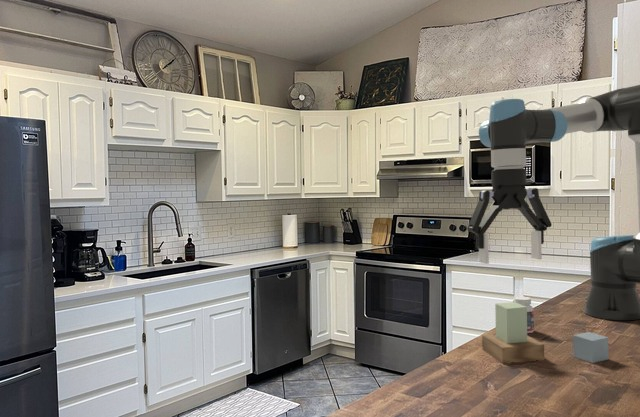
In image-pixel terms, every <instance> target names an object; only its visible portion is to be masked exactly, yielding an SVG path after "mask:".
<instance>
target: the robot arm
mask: <svg viewBox="0 0 640 417" xmlns="http://www.w3.org/2000/svg"><path fill="white" fill-rule="evenodd" d="M489 108H490V109H489V119H486V120H484V121H483V122H482V123H481V124H480V125H479V128H478V137H479V141H480V143H481V144H483V146H485V147H487V148H490V157H491V158H490V166H491V168H493V169H492V170H491V173H490V174H491V186H492V190H491V191H490V190H480V191H479V194H478V202H477V204H476V206H475V208H474V211H473V213H472V216H471V218H470V221H469V223H468V226H467V227H466V228H467V229H466V230H467V232H469V233H470V232H471V233H473V234H475V247H476V248H477V249H478V257H479V258H478V259H479V263H481V264H482V263H483V264H486V265H487V264H490V261H489V259H490V258H489V234H488V233H487V234H485V233H486V232H487V231H488V229H489V227H490V226H491V225H492V223H493V222H494V220H495V219H496V218H497V216H498V215H499V213H500V212H501V211H503V210H510V209H512V210H513V209H514V210H515V209H516V210H518V211H519V212H520V213H521V214H522V216H523V217H524V218H525V219H526V220H527V222H529V224H530V225H531V227H532V228H533V229H531V230H530V245H531V246H530V248H531V249H530V251H531V252H530V253H531V255H530V256H531V258H532V259H537V260H542V255H543V254H542V245H544V243H545V239H544V237H545V235H544V234H545V231H547V229H548V228H551V227H552V224H553V223H552V222H551V219H550V218H549V216H548V213H547V212H546V209H545V207H544V204H543V203H542V200H541V198H540V193H539V189H538V188H537V187H535V188H534V187H533V188H531V187H529V188H528V189H526V184H527V170H526V168H524V167H526V166H527V151H526V150H527V149H526V148H527V147H526V145H527V144H533V143H534V144H536V143H551V142H559V141H560V140H561V139H563V138H564V137H565V135H566V134H571V133H576V132H583V133H590V134H591V133H595V132H611V131H612V132H621V131H627V136H628V138H629V139H631V140H632V141H633V142H634V147H635V149H634V150H635V166H636V167H635V169H636V171H635V172H636V191H637V210H638V214H637V215H638V231H637V232H636V233H635V234H628V235H627V234H625V235H612V236H601V237H595V238H593V239H592V240H591V241H590V251H589V257H590V259H589V260H590V263H589V264H590V289H589V291H588V296H587V298H586V302H585V303H584V313H585V314H586V315H588V316H591V317H592V318H593V317H595V318H598V319H603V320H604V319H605V320H612V321H613V320H614V321H634V320H640V296H639V293H638V291H637V284H640V84H638V85H633V86H629V87H621V88H617V89H614V90H611V91H608V92H605V93H601V94H599V95H596V96H591V97H587V98H586V97H585V98H583V99H582V100H581V99H580V101H579V102H578V103H573V104H568V105H562V106H557V107H550V108H546V109H526V108H527V107H526V104H525V101H524V100H523V99H521V98H505V99H499V100H495V101H494V102H492V103H491V104H490V107H489ZM526 197H527V200H528V202H529V204H530V205H529V204H528V202H527V201H526V200H525V199H526ZM491 199H493V202H491V204H490V200H491ZM489 204H490V206H489ZM488 206H489V209H488ZM530 206H531V207H532V209H531V208H530ZM487 209H488V211H487ZM486 211H487V212H486Z"/></svg>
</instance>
